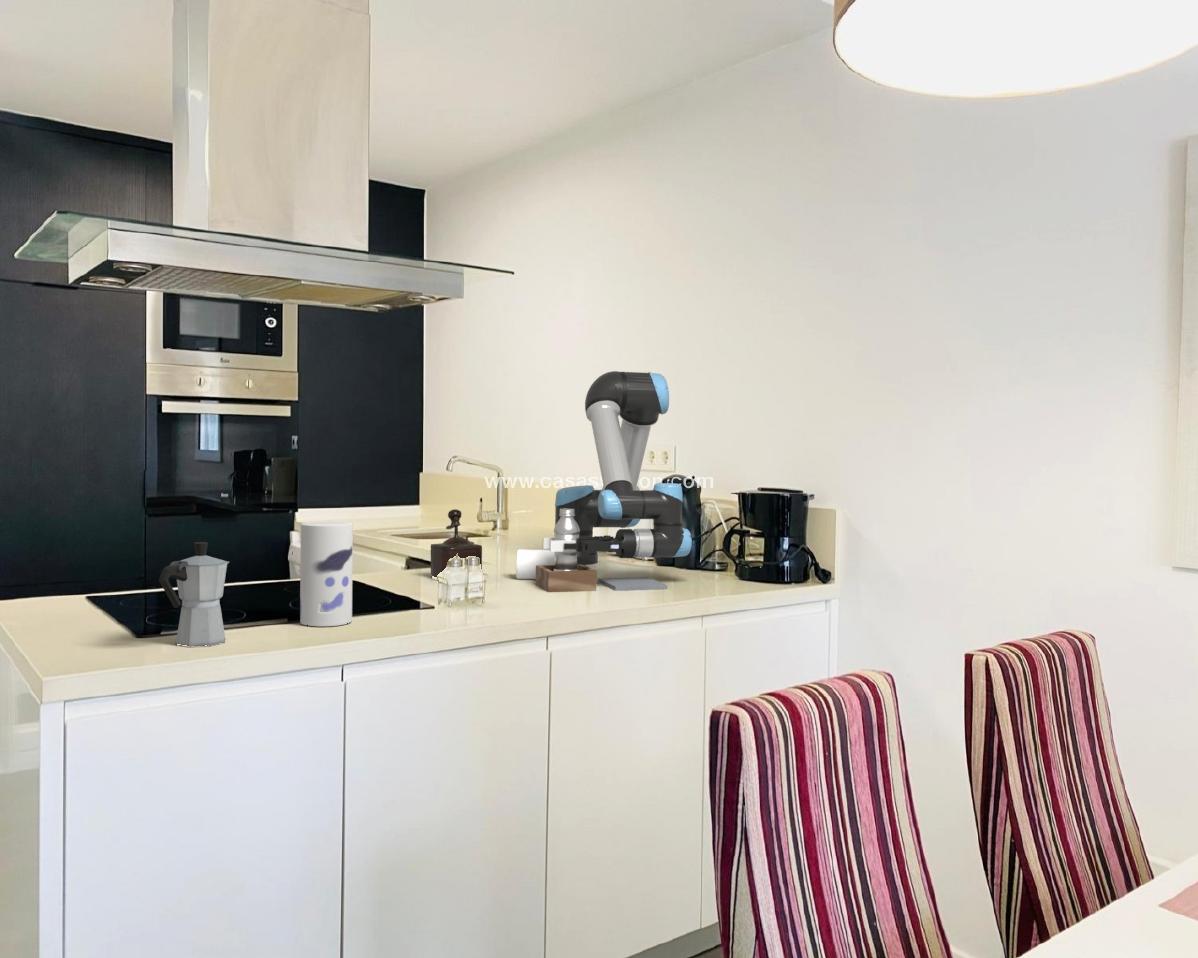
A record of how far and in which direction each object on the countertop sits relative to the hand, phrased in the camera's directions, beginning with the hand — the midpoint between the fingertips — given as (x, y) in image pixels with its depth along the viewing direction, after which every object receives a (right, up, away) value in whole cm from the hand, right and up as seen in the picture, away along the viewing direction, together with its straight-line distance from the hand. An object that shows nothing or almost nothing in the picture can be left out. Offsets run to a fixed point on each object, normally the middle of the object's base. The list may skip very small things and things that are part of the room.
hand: (546, 544), depth 244 cm
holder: (+5, -11, +2) cm, 12 cm away
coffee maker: (-59, -13, -71) cm, 93 cm away
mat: (+22, -11, +8) cm, 26 cm away
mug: (-4, -11, +18) cm, 21 cm away
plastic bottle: (+5, -11, +2) cm, 12 cm away
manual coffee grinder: (-26, -10, +15) cm, 32 cm away
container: (-41, -12, -50) cm, 66 cm away
